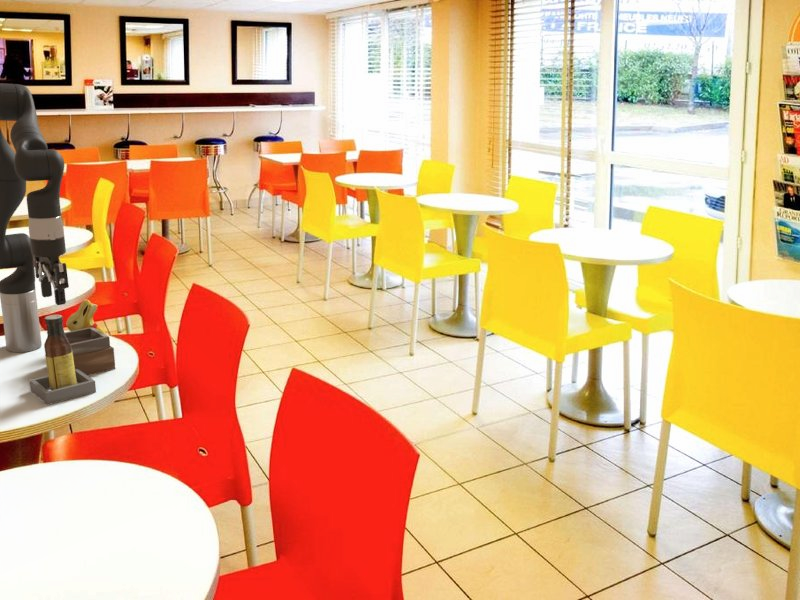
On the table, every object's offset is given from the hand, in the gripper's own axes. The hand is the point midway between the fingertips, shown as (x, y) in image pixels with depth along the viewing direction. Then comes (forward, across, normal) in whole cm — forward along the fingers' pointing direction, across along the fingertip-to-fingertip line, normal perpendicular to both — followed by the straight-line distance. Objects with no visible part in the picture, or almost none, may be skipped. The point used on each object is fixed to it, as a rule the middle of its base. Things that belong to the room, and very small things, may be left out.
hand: (53, 300), depth 187 cm
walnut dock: (+24, -13, +10) cm, 29 cm away
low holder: (+24, 0, 0) cm, 24 cm away
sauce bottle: (+24, 0, 0) cm, 24 cm away
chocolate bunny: (+24, -25, +17) cm, 39 cm away
